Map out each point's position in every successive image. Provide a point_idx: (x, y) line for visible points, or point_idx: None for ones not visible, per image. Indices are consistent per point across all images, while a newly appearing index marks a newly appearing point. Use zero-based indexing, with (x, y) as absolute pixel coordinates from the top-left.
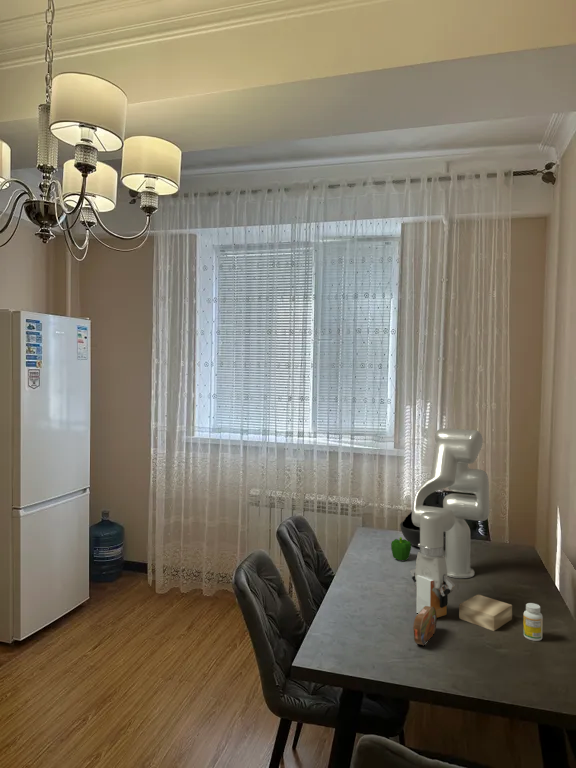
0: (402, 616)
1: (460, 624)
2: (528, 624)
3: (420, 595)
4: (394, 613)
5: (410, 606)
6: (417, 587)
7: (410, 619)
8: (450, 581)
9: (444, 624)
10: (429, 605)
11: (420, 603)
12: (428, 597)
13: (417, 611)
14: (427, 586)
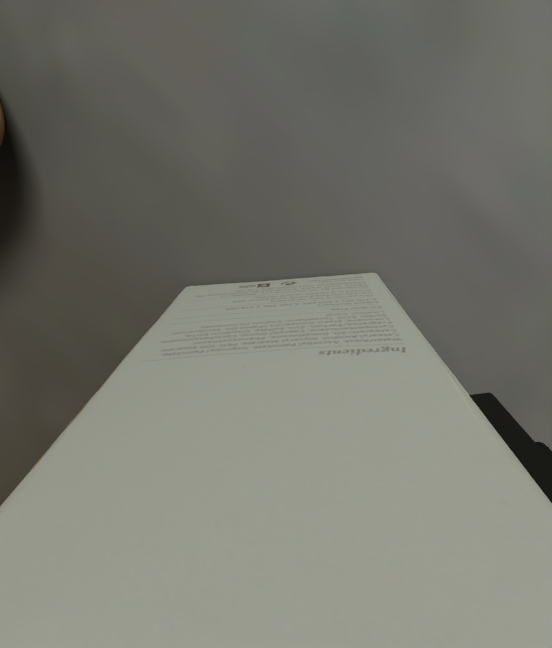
0: (422, 86)
1: (30, 449)
2: None
3: (336, 371)
4: (542, 49)
5: (538, 340)
6: (473, 453)
7: (312, 119)
8: None
9: (74, 344)
10: (150, 343)
11: (326, 318)
12: (129, 401)
13: (363, 280)
14: (34, 612)
